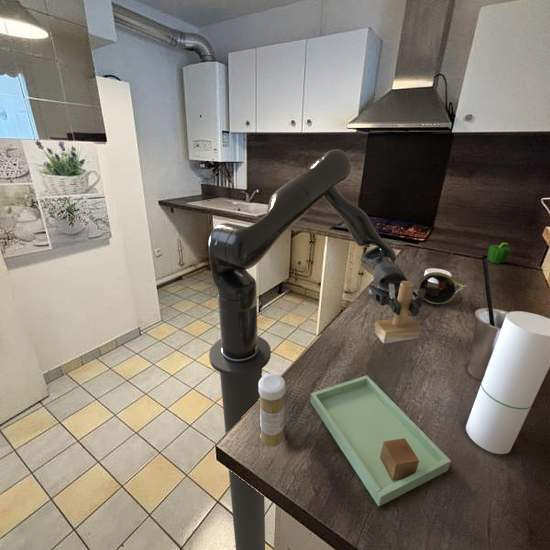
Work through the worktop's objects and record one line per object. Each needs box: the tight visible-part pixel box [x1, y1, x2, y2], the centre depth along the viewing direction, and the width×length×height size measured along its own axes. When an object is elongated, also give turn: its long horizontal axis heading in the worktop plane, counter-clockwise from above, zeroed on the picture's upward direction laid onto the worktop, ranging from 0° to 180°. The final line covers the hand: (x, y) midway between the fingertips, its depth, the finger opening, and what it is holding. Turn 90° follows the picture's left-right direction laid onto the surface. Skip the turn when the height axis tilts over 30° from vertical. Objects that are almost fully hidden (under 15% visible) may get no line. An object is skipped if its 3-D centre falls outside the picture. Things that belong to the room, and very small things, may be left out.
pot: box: [414, 272, 470, 305], centre depth 106 cm, size 17×11×18 cm
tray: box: [309, 374, 452, 507], centre depth 55 cm, size 22×15×2 cm
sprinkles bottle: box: [259, 373, 286, 448], centre depth 52 cm, size 5×5×14 cm
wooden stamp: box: [374, 280, 423, 344], centre depth 66 cm, size 4×9×14 cm, turn 102°
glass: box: [466, 255, 510, 382], centre depth 64 cm, size 11×11×30 cm
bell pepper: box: [487, 242, 511, 265], centre depth 140 cm, size 8×8×10 cm
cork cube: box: [380, 438, 419, 481], centre depth 48 cm, size 4×4×4 cm
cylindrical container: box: [465, 310, 550, 455], centre depth 50 cm, size 7×7×25 cm
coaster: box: [423, 267, 453, 285], centre depth 121 cm, size 10×10×4 cm
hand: (406, 311), depth 62 cm, fingers closed on wooden stamp, 3 cm apart
